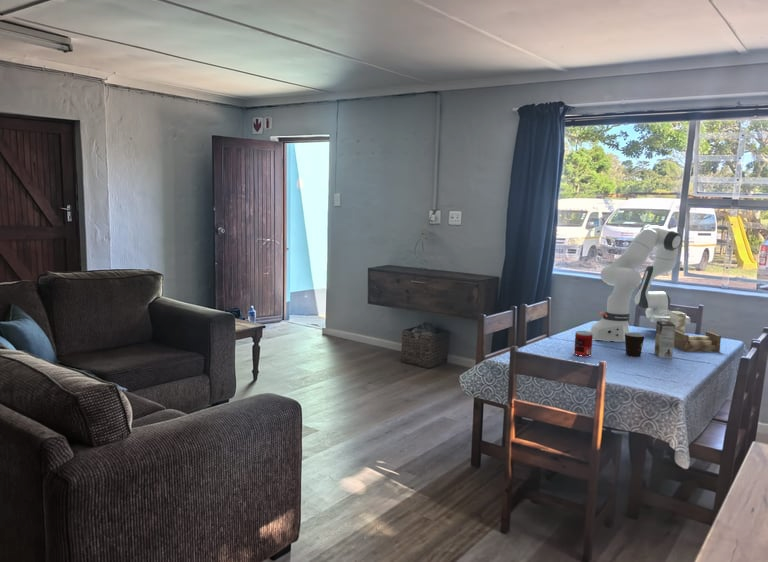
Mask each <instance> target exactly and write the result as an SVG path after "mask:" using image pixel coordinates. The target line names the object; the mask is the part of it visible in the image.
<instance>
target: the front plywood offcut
mask: <svg viewBox="0 0 768 562" xmlns="http://www.w3.org/2000/svg"><path fill="white" fill-rule="evenodd" d="M688 345H712V341H710V340H688Z"/></svg>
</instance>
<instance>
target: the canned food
mask: <svg viewBox="0 0 768 562" xmlns="http://www.w3.org/2000/svg"><path fill="white" fill-rule="evenodd" d="M574 336H575V337H574V352H573V353H574V355H575V354H577V355H582V356H589V355H591V356H592V348H593V347H592V345H593V340H592V336H593V333H592V332H590V331H588V330H577V331H575V335H574Z"/></svg>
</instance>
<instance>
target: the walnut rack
mask: <svg viewBox="0 0 768 562" xmlns="http://www.w3.org/2000/svg"><path fill="white" fill-rule="evenodd" d="M689 336H690V335H689V334H686V333H685V334H684V333H682V332H679V331H675V336H674V346H675V348H676V347H677V349H678V350H680V351H683V350H684V351H683V352H696V351H720V352H721V341H722V340H721V339H722V336H721V335H720V334H717V333H714V332H712V331H706V332H705V336H708V337H709V340H710V341H712V345H688V338H689Z"/></svg>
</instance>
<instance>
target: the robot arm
mask: <svg viewBox="0 0 768 562" xmlns="http://www.w3.org/2000/svg"><path fill="white" fill-rule="evenodd" d="M681 243H682V236H681V234H680V233H679V232H678V231H676V230H672V229H669V228H666V227H664V226H661V225H655V224H646V225H644V226H643V227H642V228H641V229H640V231H639V232H638V234H636V236H634V238H633V239H632V241H631V242H630V244H629V245H628V246H627V248H626V249H625V251H624V252H622V254H621V255H620V256H619V257H617V259H615V260H614V261H613V262H611V263H610V264H609V265H606V266H604V267H603V268H602V269H601V271H600V279H601V281H603V282H604V283H605V284H607V285H609V286H611V287H612V286H613V290H612V293H611V294H609V296H608V297H607V301H606V302H607V303H606V304H607V305H606V311H605V312H603V311H600V312H599V315H600V316H602V318H600V320H599V321H596V322H595V323H593V324H592V326H591V328H590V331H589V332H592V333H593V336H592V339H594V340H593V341H595V340H603V341H602V342H610V341H614V342H615V343H625V333H630V330H629V329H630V328H629V327H630V326H629V323H630V320H631V319H630V315H631V313H630V303H631V297H632V295H633V293H634V291H635V289H636V288H638V289H637V291H636V293H635V296H634V297H633V298H634V305H635V306H636V307H637V308H638V309H640V310H644V309H645V316H646V317H647V319H648V320H650V322H651V323H652V324H656V325H657V321H667V322H670V321H669V319H670V311H671V310H669V309H670V306H671V298H670V296H669V294H668V293H667V292H665V291H664V290H663V291H660V290H658V291H649V290H650V287H651V285H652V282H653V280H654V279H655V278H657V277H659V276H661V275H664V274H667V273H669V272H671V271H672V270H673V269H675V266H676V265H677V261H678V253H679V246H680V245H681ZM655 247H656V251H655V255H654V259H653V261H652V262H651V263H650V264H649V265H647V266H646V268H645V271H644V273H643V276H642V275H641V273H640V272H639V271H637V270H636V268H638V267H641V266H642V265H643V264H644V263H645V262H646V260H647V258H648V257H649V255H650V254H651V253H652V251H653V250H654V248H655ZM690 323H691V317H690V316H687V315H686V322H685V325H690ZM614 342H613V343H614Z"/></svg>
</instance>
